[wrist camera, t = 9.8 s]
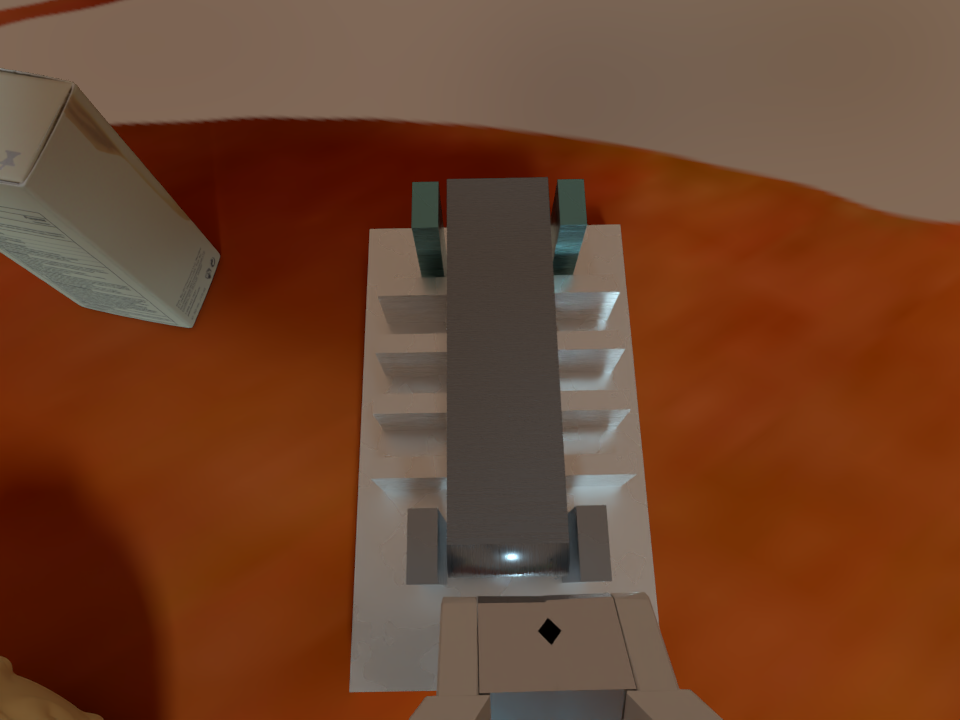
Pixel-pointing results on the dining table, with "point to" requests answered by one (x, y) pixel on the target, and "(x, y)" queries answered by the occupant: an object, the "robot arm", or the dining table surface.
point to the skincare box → (93, 209)
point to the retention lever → (503, 384)
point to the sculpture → (33, 700)
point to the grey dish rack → (423, 440)
